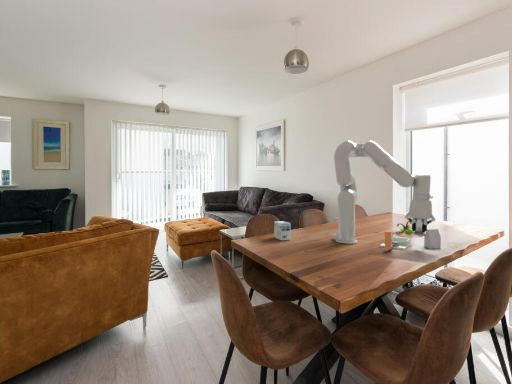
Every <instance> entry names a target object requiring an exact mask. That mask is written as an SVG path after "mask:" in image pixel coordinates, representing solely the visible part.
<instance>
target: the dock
mask: <svg viewBox="0 0 512 384" xmlns="http://www.w3.org/2000/svg"><path fill="white" fill-rule="evenodd" d="M392 243H393V244H395V245H394V246H393V247H392V250H393V249H395V250H400V251H405V250H407V249H408V248H409V247H410V245H411V239H410V238H407V237H398V236H395V237H394V236H393V242H392ZM379 246H380V247H381V248H385V237H384V238H383V243H381V244H380V245H379Z"/></svg>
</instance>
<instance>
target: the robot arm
mask: <svg viewBox="0 0 512 384" xmlns="http://www.w3.org/2000/svg"><path fill="white" fill-rule="evenodd" d="M333 158H334V159H333V160H334V168H335V169H334V170H335V177H336V179H335V180H336V183H337V184H338V186H339V189H340V191H339V193H338V195H337V206H338V207H337V208H338V209H337V211H338V212H337V213H338V214H337V215H338V220H337V224H338V225H337V226H338V229H337V230H338V231H337V233H332V234H331V236H332V237H333V238H335V242H336V243H339V244H351V245H352V244H358V242H359V241H358V239H356V201H357V199H358V192H357V183H356V179H355V176H354V174H353V173H352V172H351V171H352V170H351V163H350V158H368V159H370V160H371V161H372V162H373V163H374V164H375V165H376V166H377V167H378V169H380V170H382V171H383V172H384V173H385V174H387V175H388V176H389V177H390V178H392V180H394V181H395V183H397V185H399V186H400V187H402V188H412V199H410V202H409V208H408V213H406V215H405V216H404V218H405V219H406V220H408V221H410V222H411V223H412V224H411V230H413V232H415V218H416V219H417V218H420V219H424V225H423V233H425V234H426V231H427V229H428V225H429V224H431V223H433V222H436V219H437V218H435V217H434V215H433V206H432V204H433V203H432V200H431V199H433V198H434V196H433V195H430V194H431V193H430V192H431V191H430V190H431V175H430V174H426V173H422V174H421V173H420V174H419V173H418V174H411V173H410V172H409V171H408V170H407V169H405V168H404V167H403V166H402V165H401V164H400V163H399V162H398V161H396V159H395V158H394V157H393V156H392V155H390V154H389V152H387V151H386V150H385V149H383V147H381V146H380V145H379V144H378V143H377V142H376V141H373V140H367V141H366V142H364V143H361V142H360V143H358V142H357V143H355V142H353V141H352V140H344V141H343V142H341V143H340V144H338V146H337V147H336V148H335V151H334V156H333Z"/></svg>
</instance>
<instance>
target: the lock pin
mask: <svg viewBox="0 0 512 384" xmlns="http://www.w3.org/2000/svg"><path fill="white" fill-rule="evenodd" d="M393 232H394V231H392V230H385V231H384V238H385V247H384V250H390V251H391V250H393V248H392V247H393V246H394V245H395V244H393V243H392V242H393V237H394V236H393V235H394V234H393Z"/></svg>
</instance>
